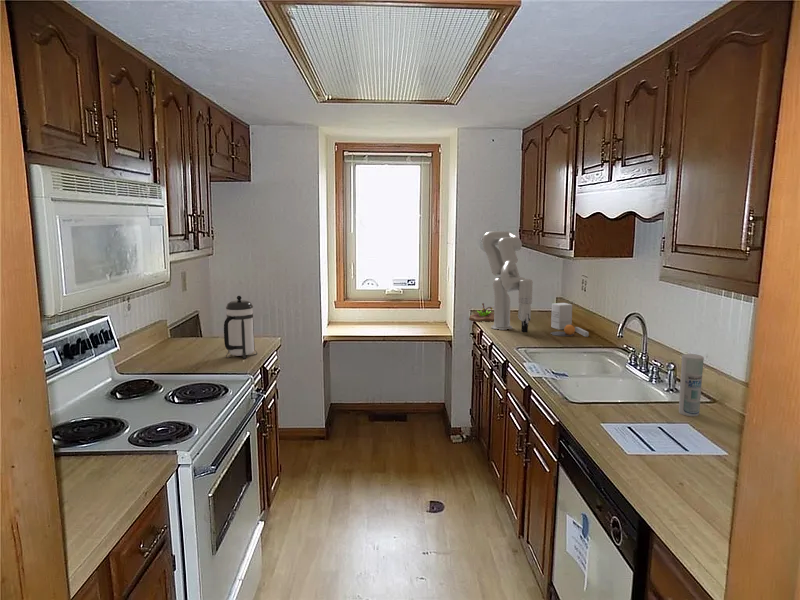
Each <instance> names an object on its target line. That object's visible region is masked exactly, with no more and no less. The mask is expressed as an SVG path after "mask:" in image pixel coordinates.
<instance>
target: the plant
mask: <svg viewBox="0 0 800 600" xmlns="http://www.w3.org/2000/svg"><path fill="white" fill-rule="evenodd" d="M481 306H482V310H481V309H480V311H479V310H476V312H477V314H476V313H474V314H473V313H472V314H470V315H469V317H468V318H469V319H468V320H469V321H470V322H471V321H472V322H475V323H481V322H480V321H494V313H492V311H491V310H493V307H491V306H488V307H486V308H485V303H484V302H482V303H481ZM488 309H490V311H489V310H488Z"/></svg>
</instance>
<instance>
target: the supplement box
mask: <svg viewBox="0 0 800 600" xmlns="http://www.w3.org/2000/svg"><path fill="white" fill-rule="evenodd" d="M550 320H551V321H550V322H551V323H550V325H551V328H553V329H556V330H564V328H565V326H566V325H573V324H572V323H573V304H571V303H567V302H557V303H553V302H552V303H551V319H550Z"/></svg>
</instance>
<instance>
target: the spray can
mask: <svg viewBox="0 0 800 600" xmlns="http://www.w3.org/2000/svg"><path fill="white" fill-rule="evenodd" d="M703 372H704V356H703V355H699V354H694V353H684V354H682V355H681V367H680V384H679V385H680V386H679V399H678V400H679V401H678V413H679V414H680V415H682V416H686V417H698V416H699V415H700V412H701V411H700V409H701V396H702V384H703V383H702V381H703Z"/></svg>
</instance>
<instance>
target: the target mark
mask: <svg viewBox="0 0 800 600" xmlns="http://www.w3.org/2000/svg"><path fill="white" fill-rule="evenodd" d="M551 334H552V335H551ZM574 334H575V333H574ZM574 334H572V335H567V334H566V333H565V332H564V331H552V332H550V335H551V336H554V337H572V336H574Z"/></svg>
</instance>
